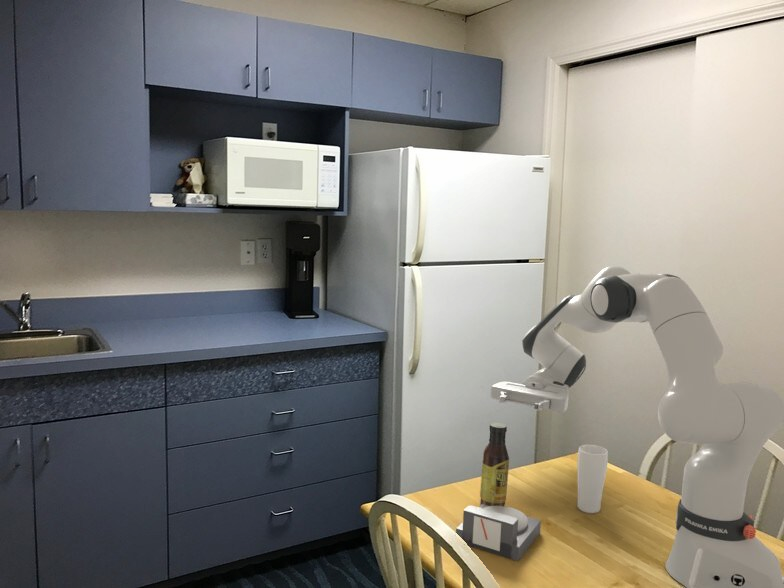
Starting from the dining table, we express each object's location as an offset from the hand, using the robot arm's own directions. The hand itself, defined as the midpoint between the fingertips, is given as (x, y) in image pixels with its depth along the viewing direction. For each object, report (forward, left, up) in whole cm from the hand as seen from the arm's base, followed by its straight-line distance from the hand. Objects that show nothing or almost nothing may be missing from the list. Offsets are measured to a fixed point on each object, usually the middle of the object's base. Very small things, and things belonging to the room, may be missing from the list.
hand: (519, 403), depth 171 cm
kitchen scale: (-7, +29, -21) cm, 36 cm away
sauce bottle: (0, +15, -22) cm, 26 cm away
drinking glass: (-20, +4, -22) cm, 30 cm away
